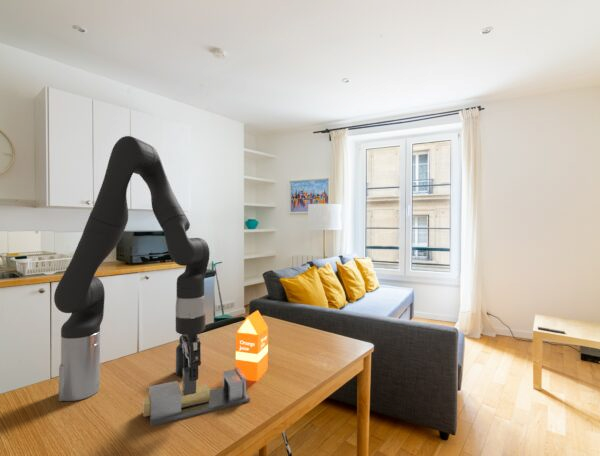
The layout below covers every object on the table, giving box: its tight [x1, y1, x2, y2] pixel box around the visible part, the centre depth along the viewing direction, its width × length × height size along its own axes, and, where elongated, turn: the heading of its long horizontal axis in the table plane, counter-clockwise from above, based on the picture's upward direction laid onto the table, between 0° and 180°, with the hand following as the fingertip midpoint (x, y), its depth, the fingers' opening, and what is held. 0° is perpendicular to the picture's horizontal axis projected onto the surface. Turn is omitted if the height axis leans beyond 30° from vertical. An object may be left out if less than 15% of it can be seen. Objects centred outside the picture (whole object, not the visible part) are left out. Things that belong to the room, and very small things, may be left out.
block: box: [142, 367, 211, 418], centre depth 84 cm, size 16×4×9 cm, turn 118°
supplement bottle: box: [174, 335, 196, 378], centre depth 105 cm, size 7×7×12 cm
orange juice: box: [235, 310, 269, 382], centre depth 106 cm, size 8×9×20 cm
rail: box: [148, 366, 251, 427], centre depth 87 cm, size 25×9×6 cm, turn 118°
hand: (190, 373), depth 86 cm, fingers open, 8 cm apart
